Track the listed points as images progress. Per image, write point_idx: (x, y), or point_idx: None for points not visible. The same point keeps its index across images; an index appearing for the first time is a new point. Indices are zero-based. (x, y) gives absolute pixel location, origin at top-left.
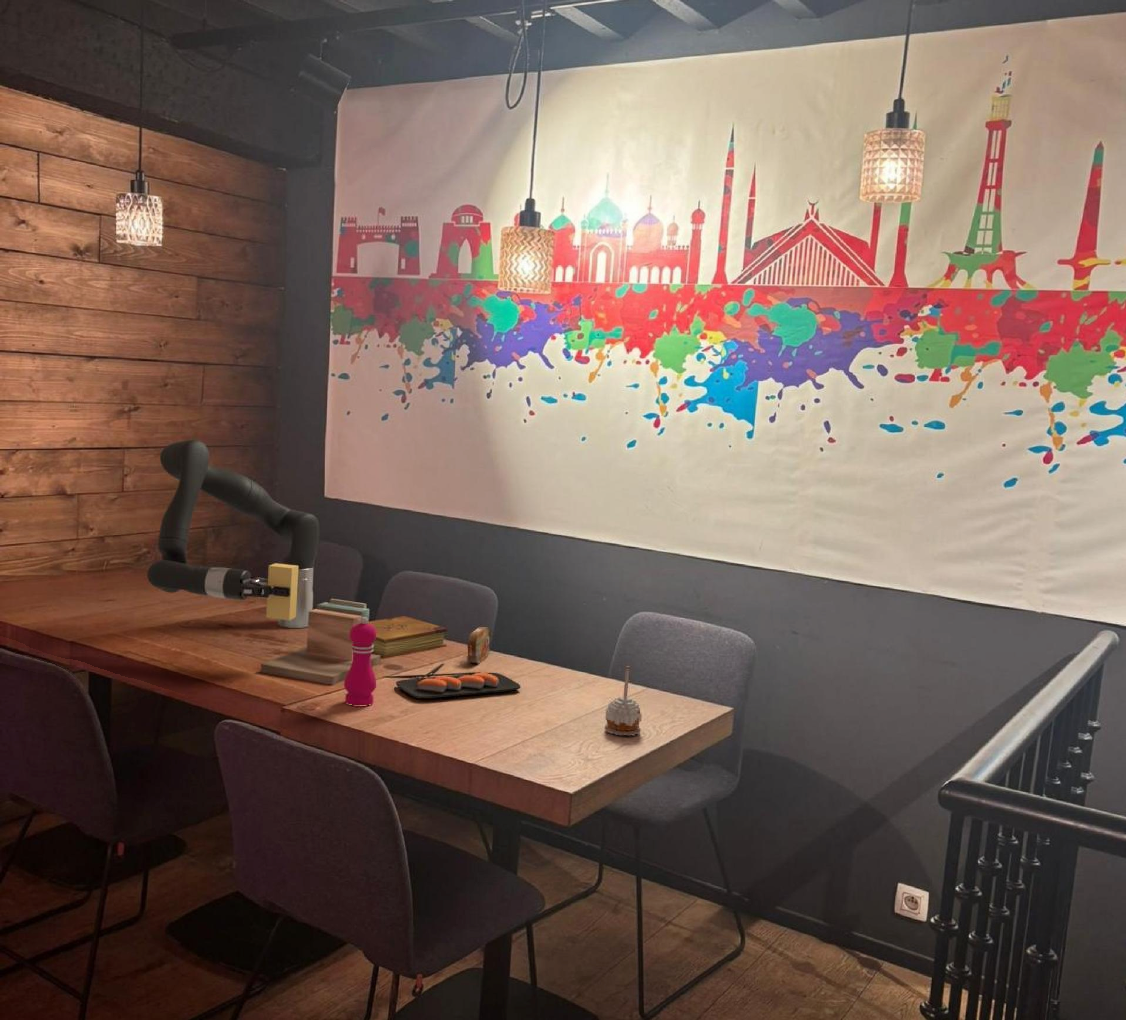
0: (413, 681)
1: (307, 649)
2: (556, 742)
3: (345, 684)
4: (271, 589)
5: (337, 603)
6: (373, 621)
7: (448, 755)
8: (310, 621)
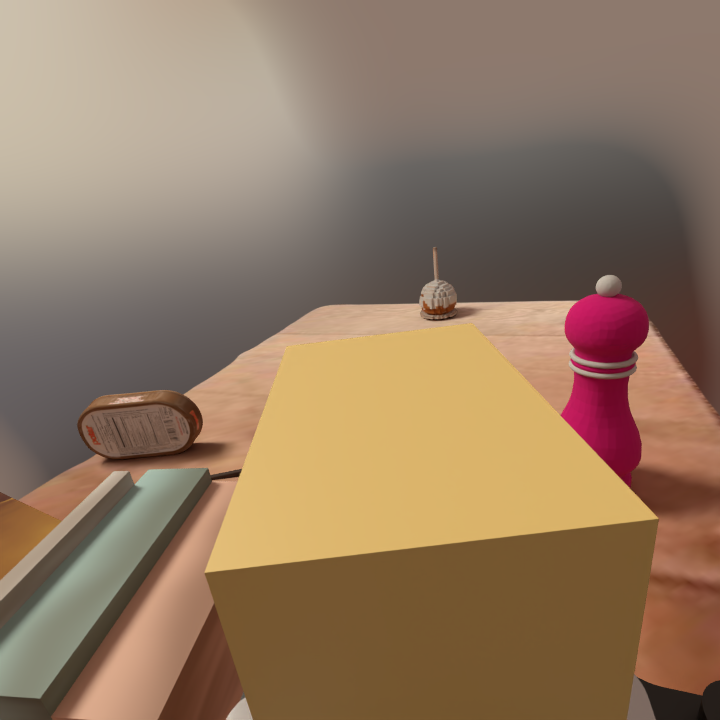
0: None
1: None
2: (515, 325)
3: (639, 457)
4: (650, 692)
5: (24, 598)
6: None
7: (665, 349)
8: None
